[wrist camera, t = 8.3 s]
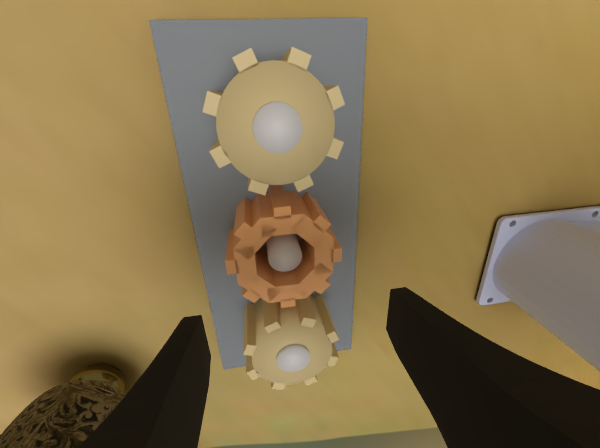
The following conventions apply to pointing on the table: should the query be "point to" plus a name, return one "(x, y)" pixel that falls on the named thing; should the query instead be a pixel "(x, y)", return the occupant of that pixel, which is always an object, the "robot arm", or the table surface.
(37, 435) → the cup
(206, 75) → the gear board
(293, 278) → the loose gear
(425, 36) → the table surface
